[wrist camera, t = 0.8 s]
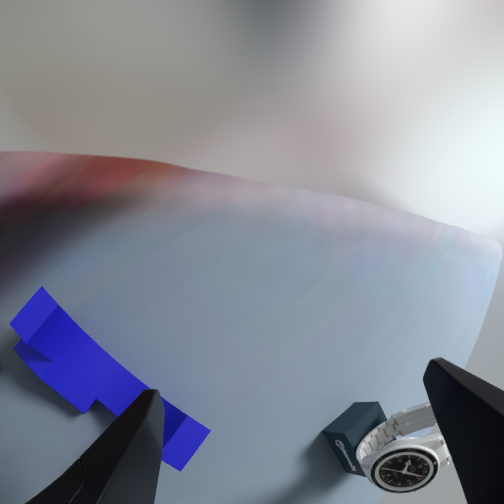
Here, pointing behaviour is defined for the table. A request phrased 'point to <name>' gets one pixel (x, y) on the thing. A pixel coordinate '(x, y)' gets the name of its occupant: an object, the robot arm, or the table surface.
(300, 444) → the table surface
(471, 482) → the robot arm
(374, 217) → the table surface
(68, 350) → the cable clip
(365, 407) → the watch
